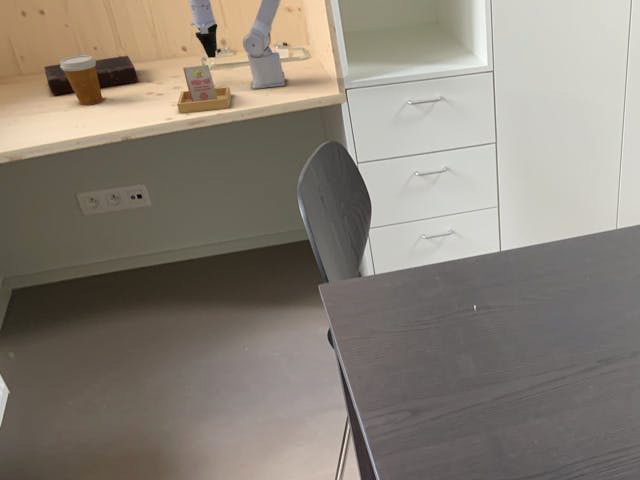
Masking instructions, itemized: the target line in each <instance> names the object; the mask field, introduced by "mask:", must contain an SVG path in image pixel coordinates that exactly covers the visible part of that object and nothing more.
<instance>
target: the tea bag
mask: <svg viewBox="0 0 640 480" xmlns="http://www.w3.org/2000/svg"><path fill="white" fill-rule="evenodd" d="M182 69H183V74H184V78H185V82H186V85H187V89H188V90H187V91H189V93H190V97H191V100H192V102H196V101H206V100H215V99H217V95H216V91H215V88H216V87H215V84H214V80H213V77H212V73H211V70H210V67H209V64H203V65H194V66H185V67H182Z"/></svg>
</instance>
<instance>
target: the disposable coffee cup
mask: <svg viewBox="0 0 640 480" xmlns="http://www.w3.org/2000/svg"><path fill="white" fill-rule="evenodd" d="M95 63H96V61H95V59H94V57H93V56H92V55H87V54H86V55H85V54H84V55H74V56H69V57H66V58H62V59H61V60H60V64H61V66H60V67H61V68H62V70H64V72H65V74H66V76H67V78H68V80H69V82H70V84H71V86H72V88H73V90H74V91H73V92H74V94H75V96H76V98H77V100H78V102H79V104H80V105H84V106H87V105H88V106H89V105H94V104H98V103H101V102H103V96H102V90H101V87H100V85H99V81H98V76H97V71H96V67H95V65H96V64H95Z"/></svg>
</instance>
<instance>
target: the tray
mask: <svg viewBox="0 0 640 480" xmlns="http://www.w3.org/2000/svg"><path fill="white" fill-rule="evenodd" d="M215 91H216V95H217V99H215V100H206V101H196V102H192V100H191V97H190V93H189V90H184V91H183V90H182V91H180V95H179V98H178V100H177V103H176V105H177V108H178V112H179V114H185V113H186V114H187V113H192V112H194V113H195V112H203V111H204V112H205V111H212V110H213V111H214V110H222V109H229V108H230V105H231V99H232V93H231V88H230V86H222V87H215Z"/></svg>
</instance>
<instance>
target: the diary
mask: <svg viewBox="0 0 640 480" xmlns="http://www.w3.org/2000/svg"><path fill="white" fill-rule="evenodd" d="M94 60H95V59H94ZM95 61H96V63H95V64H96V65H95V67H96V71H97V76H98V81H99V85H100V88H105V87H109V86H115V85H120V84H127V83H135V82H139V78H138V74H137V71H136V68H135V66H134V64H133V62H132V60H131V59H130V57H129V56H128V55H122V56H116V57H109V58H102V59H96V60H95ZM60 66H61V63H59V64H52V65H47V66H44V67H43V68H44V73H45V77H46V81H47V84H48V87H49V90H50V92H51V95H53V96H56V95H60V94H67V93H71V92H74V90H73V88H72V86H71V84H70V82H69V80H68V78H67V76H66V74H65V72H64V70H62V68H61V67H60Z"/></svg>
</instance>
